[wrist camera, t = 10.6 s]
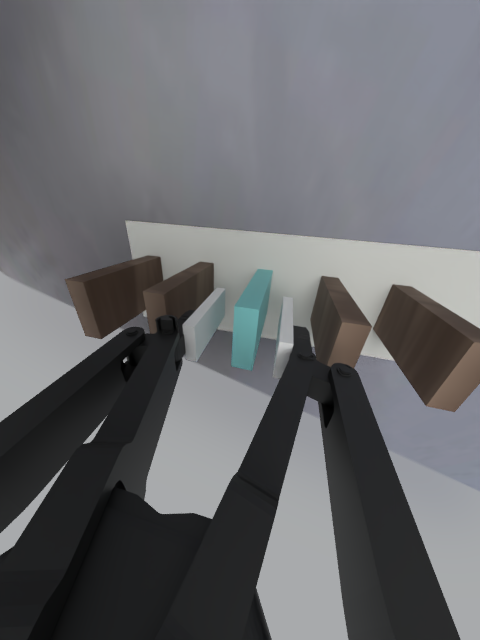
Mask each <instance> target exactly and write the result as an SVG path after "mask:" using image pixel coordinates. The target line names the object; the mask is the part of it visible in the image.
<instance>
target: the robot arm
mask: <svg viewBox="0 0 480 640" xmlns="http://www.w3.org/2000/svg"><path fill="white" fill-rule="evenodd" d="M224 317H225V288H216V289H215V290H214V291H213V292H212V293H211V295H210V296H209V297H208V298H207V299H206V300H205V301H204V302H203V303H202V304H201V305H200V306H199V307H198V309H197V310H189V311H187V312H185V313H184V314H183V315H182V316H181V317H180V318H179V319H178V318H177V317H176V316H173V315H163V316H160V317H158V318H156V319H155V322H156V327H157V332H156V333H155V334H145V332H144V329H143V328H140V327H130V328H127V329H125V330H123V331H122V332H121V333H119V334H118V335H116V337H114V338H112V339H111V340H110V341H108V342H107V343H106V344H104V345H103V346H102V347H100V348H99V349H98V350H96V351H95V352H94V353H92V354H91V355H90V356H88V357H87V358H86V359H85V360H83V361H82V362H80V363H79V364H78V365H76V366H75V367H74V368H72V369H71V370H70V371H68V372H67V373H66V374H64V375H63V376H62V377H60V378H59V379H58V380H56V381H55V382H53V383H52V384H51V385H49V386H48V387H47V388H46V389H44V390H43V391H41V392H40V393H39V394H37V395H36V396H35V397H33V398H32V399H31V400H29V401H28V402H27V403H25V404H24V405H23V406H21V407H20V408H19V409H17V410H16V411H15V412H13V413H12V414H11V415H9V416H8V417H7V418H5V419H4V420H3V421H1V422H0V533H1V532H2V531H3V530H4V529H5V528H6V527H7V526H8V525H9V524H10V523H11V522H12V521H13V520H14V519H15V518H17V517H18V516H19V515H20V514H21V512H23V511H24V510H25V508H26V507H27V506H28V505H29V504H30V503H31V502H32V501H33V500H34V499H35V498H36V497H37V495H38V494H39V493H40V492H41V491H42V490H43V489H44V487H45V486H46V485H47V484H48V483H49V482H50V481H51V479H52V478H53V477H54V476H55V475H56V473H58V471H59V470H60V469H61V468H62V467H63V466H64V464H65V463H66V462H67V461H68V460H69V461H68V462H67V464H66V465H65V467H64V469H63V470H62V472H61V473H60V475H59V477H58V478H57V480H56V481H55V483H54V484H53V486H52V487H51V489H50V491H49V492H48V494H47V495H46V497H45V499H44V500H43V502H42V503H41V505H40V506H39V508H38V510H37V511H36V512H35V514H34V516H33V517H32V519H31V521H30V522H29V524H28V525H27V527H26V528H25V530H24V531H23V533H22V535H21V536H20V538H19V539H18V541H17V542H16V544H15V546H14V547H12V548H11V549H9V550H8V551H6V552H5V553H3V554H2V555H0V640H271V636H270V633H269V629H268V626H267V623H266V619H265V616H264V613H263V609H262V606H261V603H260V599H259V596H258V593H257V589H256V585H257V581H258V578H259V573H260V570H261V566H262V563H263V559H264V555H265V552H266V548H267V544H268V540H269V537H270V533H271V529H272V525H273V522H274V518H275V514H276V510H277V506H278V501H279V496H280V493H281V489H282V485H283V481H284V478H285V474H286V470H287V466H288V463H289V459H290V456H291V452H292V448H293V445H294V441H295V437H296V433H297V430H298V426H299V422H300V419H301V415H302V411H303V408H304V404H305V400H306V396H308V397H310V398H312V399H314V400H316V401H318V405H319V413H320V421H321V428H322V437H323V445H324V454H325V462H326V470H327V478H328V486H329V494H330V503H331V511H332V518H333V526H334V535H335V543H336V550H337V560H338V568H339V575H340V584H341V592H342V600H343V607H344V614H345V620H346V626H347V632H348V638H349V640H460V637H459V635H458V632H457V629H456V627H455V624H454V622H453V619H452V616H451V614H450V611H449V609H448V606H447V603H446V601H445V598H444V596H443V593H442V590H441V588H440V585H439V583H438V580H437V577H436V575H435V572H434V570H433V567H432V564H431V562H430V559H429V557H428V554H427V551H426V549H425V546H424V544H423V541H422V538H421V536H420V533H419V531H418V528H417V525H416V523H415V520H414V518H413V515H412V512H411V510H410V507H409V505H408V502H407V499H406V497H405V494H404V492H403V489H402V486H401V484H400V481H399V479H398V476H397V473H396V471H395V468H394V466H393V463H392V460H391V458H390V455H389V453H388V450H387V447H386V445H385V442H384V440H383V437H382V434H381V432H380V429H379V427H378V424H377V421H376V419H375V416H374V414H373V411H372V408H371V406H370V403H369V401H368V398H367V395H366V393H365V390H364V388H363V385H362V382H361V380H360V377H359V375H358V373H357V371H356V370H355V369H354V368H352V367H351V366H349V365H347V364H343V363H334V364H333V365H332V366H331V367H330V366H327V365H325V364H322V363H320V362H319V361H317V360H316V356H315V355H314V353H312V347H311V341H310V333H309V331H308V330H307V328H306V327H301V326H294V325H293V298H291V297H284V296H283V302H282V307H281V313H280V319H279V324H278V333H277V342H276V351H275V360H274V369H273V378H277V379H280V381H279V383H278V385H277V387H276V389H275V392H274V394H273V396H272V398H271V401H270V403H269V405H268V407H267V409H266V412H265V414H264V416H263V418H262V420H261V422H260V424H259V427H258V429H257V431H256V434H255V435H254V438H253V440H252V442H251V444H250V446H249V449H248V451H247V453H246V455H245V457H244V460H243V462H242V464H241V466H240V468H239V470H238V472H237V473H236V474H235V475H234V476H233V478H232V479H231V481H230V483H229V485H228V487H227V489H226V492H225V493H224V495H223V498H222V500H221V502H220V504H219V506H218V508H217V510H216V513H215V515H214V517H213V519H210V518H207V517H204V516H201V515H198V514H194V513H187V514H160V513H158V512H157V511H156V510H154V509H153V508H152V507H151V506H150V505H149V504H148V503H146V502H145V501H144V497H145V492H146V480H147V476H148V472H149V469H150V466H151V462H152V459H153V456H154V453H155V450H156V447H157V443H158V440H159V436H160V434H161V431H162V427H163V424H164V421H165V418H166V414H167V411H168V408H169V405H170V402H171V398H172V395H173V392H174V389H175V386H176V382H177V379H178V376H179V373H180V370H181V366H182V357H183V356H184V354H185V356H186V360H188V361H193V362H197V361H198V359H199V358H200V356H201V354H202V353H203V351H204V349H205V348H206V346H207V344H208V343H209V341H210V340H211V338H212V336H213V335H214V333H215V331H216V330H217V328H218V326H219V325H220V323H221V322H222V320H223V318H224ZM126 357H127V361H126V362H125V363H123V360H124V359H125V358H126ZM107 415H108V416H107ZM106 416H107V418H106V419H105V417H106ZM104 419H105V421H104V422H103V424H102V426H101V427H100V429H99V431H98V433H97V434H96V436H95V438H94V439H93V440H92V441H91V442H90V443H87V444H83V443H84V442H85V440H86V439H87V438H88V437H89V436H90V435H91V433H92V432H93V431H94V430H95V429H96V428H97V427H98V425H99V424H100V423H101V422H102V421H103V420H104Z"/></svg>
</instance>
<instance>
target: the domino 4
mask: <svg viewBox="0 0 480 640" xmlns="http://www.w3.org/2000/svg"><path fill="white" fill-rule="evenodd" d="M310 321H311V328H312V334H313V340H314V347H315V353H316V359H317V361H319V362H320V363H322V364H325V365H327V366H330V367H331V366H332V365H333V364H334V363H343V364H347V365H349V366H351V367H352V368H354V367H355V365H356V363H357V360H358V358H359V356H360V354H361V351H362V349H363V347H364V344H365V342H366V340H367V338H368V335H369V333H370V331H371V328H372V325H371V324H370V323H369V321H368V320H367V318H366V317H365V315H364V314H363V313H362V311H361V310H360V308H359V307H358V305H357V304H356V302H355V301H354V300H353V298H352V297H351V295H350V294H349V292H348V291H347V290H346V288H345V287H344V285H343V284H342V282H341V281H340V279H339V278H336V277H328V276H321V280H320V283H319V287H318V291H317V295H316V299H315V303H314V306H313V310H312V314H311V318H310Z"/></svg>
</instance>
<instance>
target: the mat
mask: <svg viewBox="0 0 480 640" xmlns="http://www.w3.org/2000/svg"><path fill="white" fill-rule="evenodd" d="M125 222H126V227H127V232H128V238H129V243H130V248H131V253H132V258H133V260H134V259H137V258H140V257H144V256H147V255H150V256H159V257H161V265H162V273H163V281H164V280H166V279H167V278H169V277H171V276H173V275H175V274H177V273H179V272H181V271H183V270H185V269H187V268H189V267H190V266H192V265H194V264H196V263H198V262H200V261H201V262H209V263H214V290H215V289H216V288H225V317H224V318H223V320H222V322H221V323H220V325H219V326H218V328H217V329H218V330H223V331H229V332H233V323H234V306H235V304H236V303H237V301H238V300H239V298H240V296H241V295H242V293H243V292H244V290H245V288H246V287H247V285H248V284H249V282H250V280H251V279H252V277H253V276H254V274H255V272H256V271H257V269H265V270H273V274H272V281H271V288H270V295H269V302H268V309H267V315H266V319H265V323H264V327H263V330H262V334H261V337H263V338H269V339H274V340H277V333H278V324H279V319H280V313H281V307H282V302H283V296H284V297H291V298H293V325H294V326H301V327H306V328H307V330H308V331H309V333H310V341H311V346H314V340H313V334H312V328H311V321H310V318H311V314H312V310H313V306H314V303H315V299H316V295H317V291H318V287H319V283H320V280H321V276H328V277H336V278H339V279H340V281H341V282H342V284H343V285H344V287H345V288H346V290H347V291H348V292H349V294H350V295H351V297H352V298H353V300H354V301H355V302H356V304H357V305H358V307H359V308H360V310H361V311H362V313H363V314H364V315H365V317H366V318H367V320H368V321H369V323H370V324H371V325H372V328H371V331H370V333H369V335H368V338H367V340H366V342H365V344H364V347H363V349H362V351H361V354H360V355H365V356H370V357H376V358H382V359H387V360H393V361H395V360H394V359H393V358H392V356H391V355H390V353H389V352H388V350H387V349H386V347H385V346H384V345H383V343H382V342H381V340H380V339H379V337H378V336H377V334H376V333H375V331H374V330H373V327H374V325H375V323H376V321H377V318H378V316H379V314H380V312H381V309H382V307H383V305H384V303H385V300H386V298H387V296H388V294H389V291H390V289H391V287H392V284H396V285H404V286H412V287H413V288H415V289H416V290H418V291H420V292H421V293H423V294H425V295H426V296H428V297H429V298H431V299H433V300H434V301H436V302H438V303H439V304H441V305H442V306H444V307H446V308H447V309H449V310H450V311H452V312H454V313H455V314H457V315H459V316H460V317H462V318H463V319H465V320H467V321H468V322H470V323H472V324H473V325H475V326H476V327H478V328H480V251H472V250H460V249H449V248H437V247H426V246H415V245H403V244H392V243H380V242H369V241H357V240H346V239H334V238H323V237H311V236H300V235H288V234H277V233H265V232H254V231H242V230H231V229H219V228H208V227H196V226H185V225H173V224H162V223H150V222H139V221H125ZM143 316H144V317H147V312H146V310H145V311H143Z"/></svg>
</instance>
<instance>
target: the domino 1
mask: <svg viewBox="0 0 480 640" xmlns="http://www.w3.org/2000/svg"><path fill="white" fill-rule="evenodd" d="M65 281H66V284H67V287H68V290H69V292H70V295H71V298H72V300H73V303H74V306H75V309H76V311H77V314H78V317H79V319H80V322H81V325H82V327H83V330H84V333H85V336H89V337H94V338H98V339H102V338H104V337H105V336H107V335H108V334H110V333H111V332H113V331H114V330H116V329H118V328H119V327H121V326H122V325H124V324H125V323H127V322H128V321H130V320H131V319H133V318H134V317H136V316H137V315H139V314H140V313H142V312H143V311H145V310H146V307H145V301H144V296H143V291H144V290H146V289H148V288H150V287H152V286H154V285H156V284H158V283H160V282H162V281H163V273H162V265H161V257H159V256H150V255H147V256H144V257H140V258H137V259H134V260H130V261H127V262H123V263H120V264H116V265H113V266H109V267H106V268H103V269H99V270H96V271H92V272H89V273H85V274H82V275H79V276H75V277H72V278H68V279H65Z"/></svg>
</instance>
